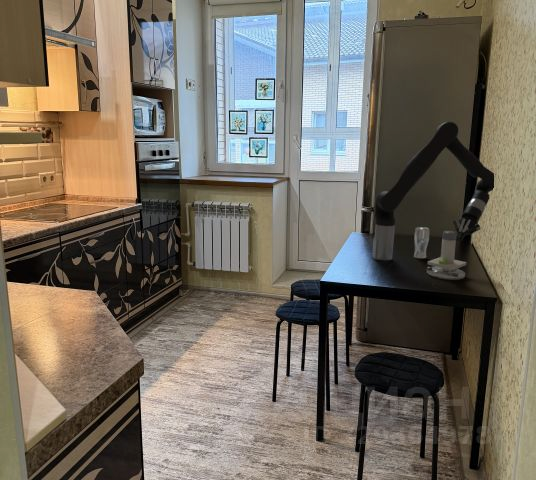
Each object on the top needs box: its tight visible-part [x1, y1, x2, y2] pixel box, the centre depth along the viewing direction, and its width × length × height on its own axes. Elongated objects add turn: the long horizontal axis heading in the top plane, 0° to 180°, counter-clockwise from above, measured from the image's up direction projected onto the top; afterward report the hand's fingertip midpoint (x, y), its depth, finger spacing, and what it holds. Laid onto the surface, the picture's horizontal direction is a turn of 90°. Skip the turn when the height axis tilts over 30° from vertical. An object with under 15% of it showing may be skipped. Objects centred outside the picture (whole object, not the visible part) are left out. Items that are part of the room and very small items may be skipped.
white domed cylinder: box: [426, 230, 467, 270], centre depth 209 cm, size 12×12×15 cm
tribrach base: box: [426, 266, 466, 281], centre depth 211 cm, size 16×16×4 cm
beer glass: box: [413, 226, 430, 260], centre depth 239 cm, size 7×7×15 cm
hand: (458, 240), depth 214 cm, fingers closed
